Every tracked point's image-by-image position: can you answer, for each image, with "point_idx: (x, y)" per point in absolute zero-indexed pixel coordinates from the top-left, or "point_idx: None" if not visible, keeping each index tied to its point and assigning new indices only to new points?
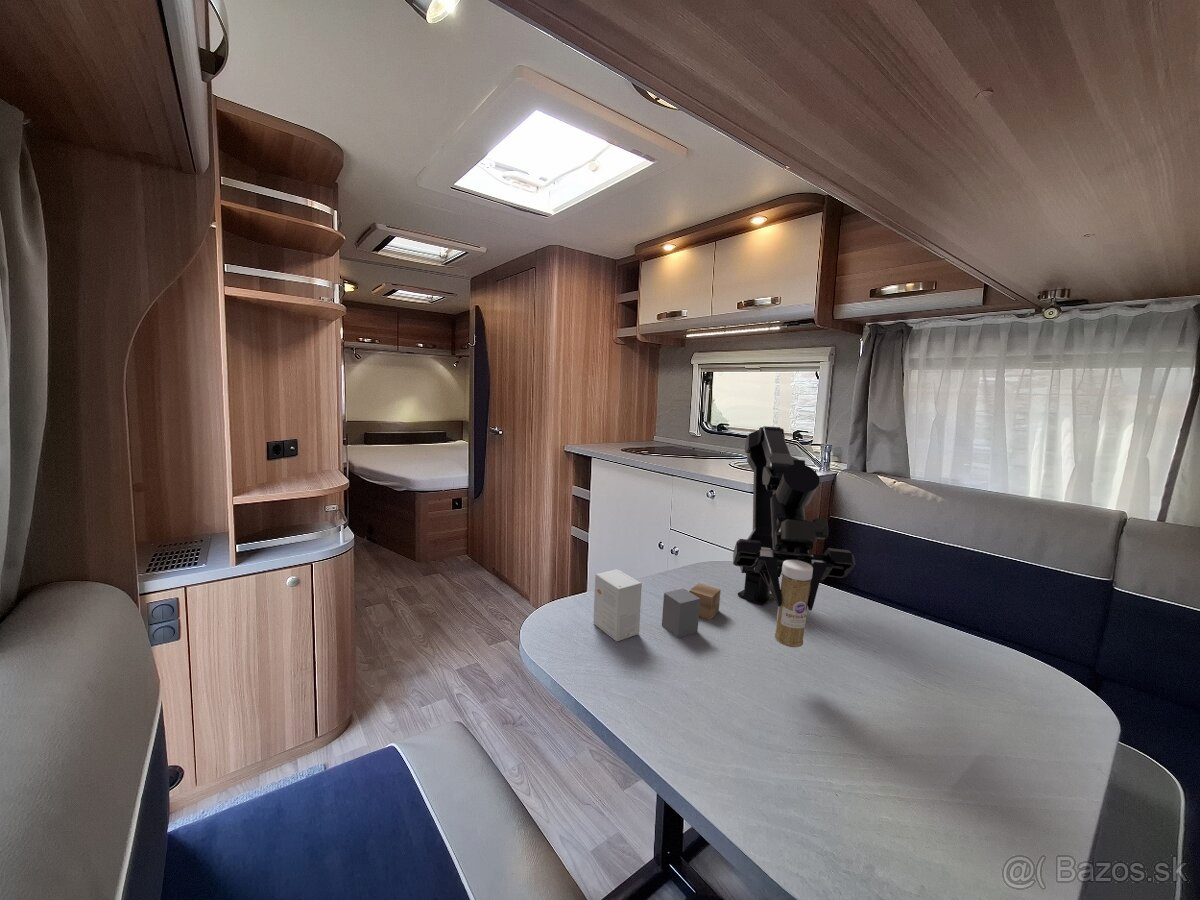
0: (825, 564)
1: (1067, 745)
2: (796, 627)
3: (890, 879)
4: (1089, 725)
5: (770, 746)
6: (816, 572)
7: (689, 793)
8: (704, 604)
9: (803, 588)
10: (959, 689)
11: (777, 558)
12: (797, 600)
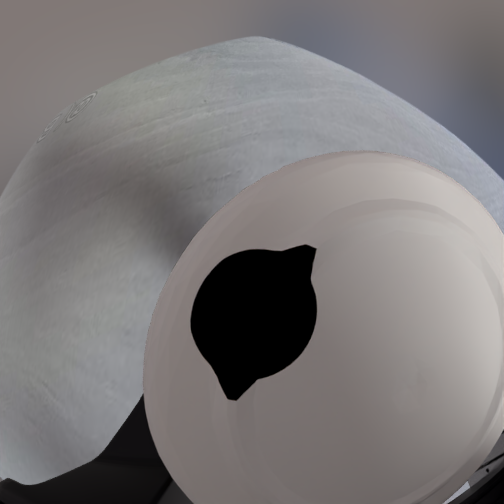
0: (27, 502)
1: None
2: (260, 281)
3: (180, 58)
4: None
5: (279, 134)
6: (136, 472)
7: (341, 69)
8: None
9: (260, 258)
10: (16, 386)
11: (478, 497)
12: (281, 264)
